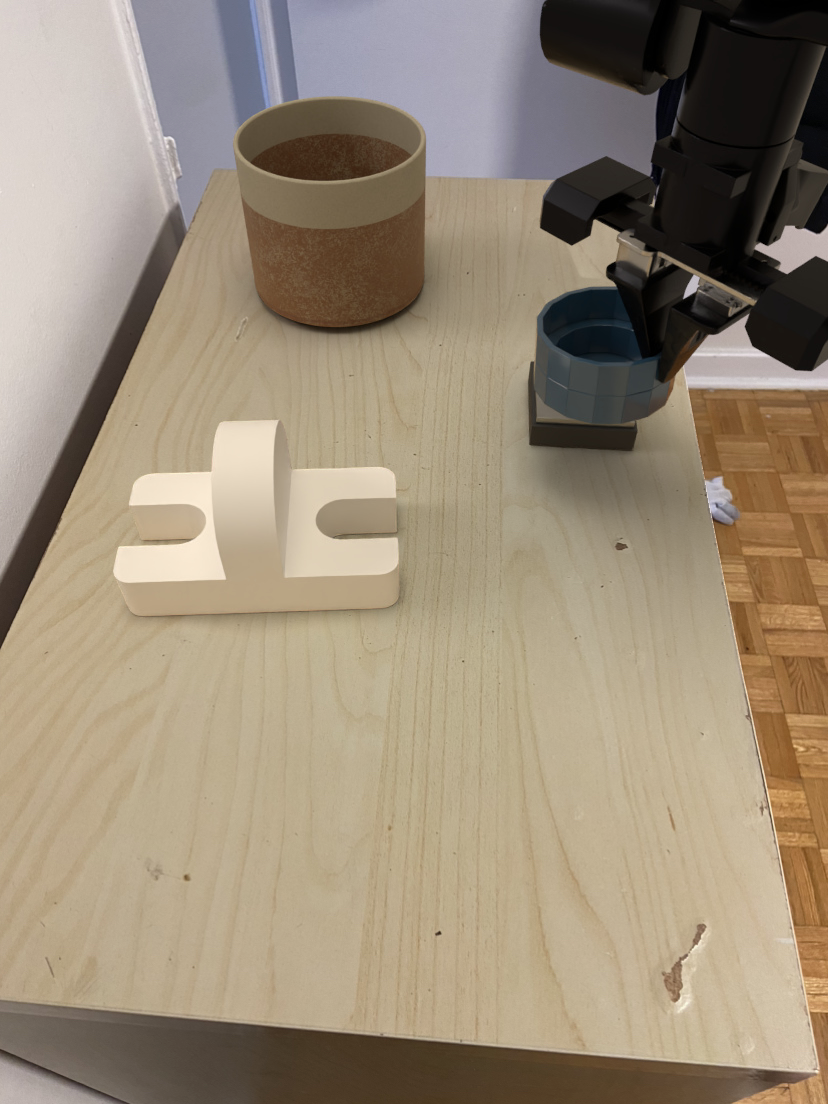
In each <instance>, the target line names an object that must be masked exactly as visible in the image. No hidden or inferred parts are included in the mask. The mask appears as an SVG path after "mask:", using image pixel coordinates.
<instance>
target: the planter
mask: <svg viewBox="0 0 828 1104" xmlns="http://www.w3.org/2000/svg"><path fill="white" fill-rule="evenodd" d="M232 140H233V141H232V148H233V153H234V161H235V167H236V173H237V180H238V185H239V192H240V198H241V204H242V210H243V216H244V222H245V230H246V235H247V242H248V247H249V254H250V259H251V260H250V261H251V267H252V273H253V278H254V279H253V280H254V286H255V289H256V292H257V294H258V296H259V298H260V299H261V300H262V302H263V303H264V304H265V305H266V306H267V307H268V308H269V309H271V310H272V311H273V312H275V313H276V314H278V315H280V316H281V317H284V318H286V319H287V320H288V319H289V320H291V321H294V322H298V323H301V324H305V325H310V326H315V327H316V326H317V327H324V328H348V327H356V326H363V325H368V324H371V323H375V322H378V321H382V320H384V319H387V318H389V317H391V316H393V315H395V314H397V313H399V312H401V311H403V310H404V309H405V308H406V307H408V306H410V304H412V303H413V301H414V300H415V299H417V297H418V295H419V294H420V292H421V290H422V288H423V285H424V283H425V282H424V281H425V261H426V260H425V253H426V252H425V249H426V247H425V246H426V185H427V184H426V183H427V181H426V176H427V174H426V173H427V171H426V170H427V135H426V130H425V129H424V126H422V123H420V122H419V120H418V119H417V118H416V117H414V116H413V115H411V114H410V113H408V111H405V110H403V109H401V108H400V107H397V106H394V105H392V104H390V103H387V102H383V101H379V100H374V99H369V98H363V97H355V96H342V95H341V96H338V95H335V96H334V95H331V96H327V95H326V96H314V97H305V98H299V99H294V100H290V101H286V102H281V103H279V104H276V105H272V106H270V107H267V108H265V109H263V110H261V111H258V112H256V113H255V114H254V115H252V116H250V117H249V118H248V119H246V120H245V121H244V122H243V123H242V124H241V125H240V126H239V127H238V128H237V130H236V132H235V133H234V136H233V139H232Z"/></svg>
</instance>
